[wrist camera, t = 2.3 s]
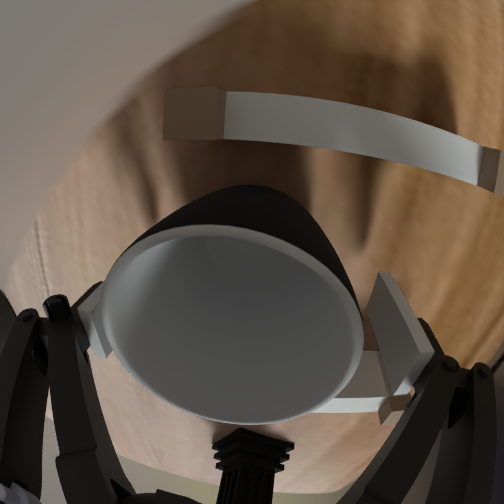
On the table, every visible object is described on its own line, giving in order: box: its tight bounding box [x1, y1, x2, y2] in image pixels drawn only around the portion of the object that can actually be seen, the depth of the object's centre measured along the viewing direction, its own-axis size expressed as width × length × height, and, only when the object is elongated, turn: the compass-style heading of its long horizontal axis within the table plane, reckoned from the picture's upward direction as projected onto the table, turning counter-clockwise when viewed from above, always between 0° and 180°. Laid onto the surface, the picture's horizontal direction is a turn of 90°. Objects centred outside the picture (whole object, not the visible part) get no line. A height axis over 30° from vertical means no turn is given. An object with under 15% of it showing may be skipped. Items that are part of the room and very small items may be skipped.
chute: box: [163, 86, 504, 425], centre depth 15 cm, size 16×19×6 cm
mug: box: [101, 185, 364, 425], centre depth 13 cm, size 12×9×10 cm
